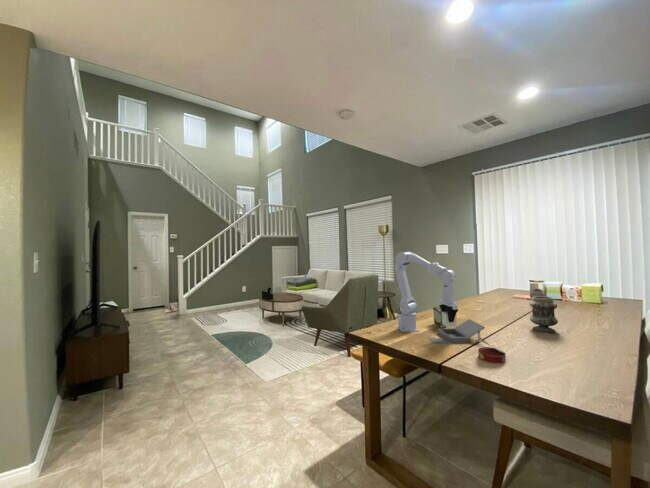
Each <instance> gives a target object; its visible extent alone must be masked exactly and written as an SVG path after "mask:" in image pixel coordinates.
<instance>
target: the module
mask: <svg viewBox="0 0 650 488" xmlns="http://www.w3.org/2000/svg"><path fill="white" fill-rule="evenodd" d="M457 322H458V321H457V314H456V315H455V319H454V322H449V320H448V314H447V312H442V324H443V325H445V326H446V328H449V327H451V328H453V327H454V328H455V327H457V326H458V324H457Z"/></svg>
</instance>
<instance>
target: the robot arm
mask: <svg viewBox="0 0 650 488" xmlns="http://www.w3.org/2000/svg"><path fill="white" fill-rule="evenodd" d="M394 258H395V263H394V269H395V274H396V278H397V283H398V286H399V291H400V296H401V299H400V301H399V303H400V305H399V309H400V312H401V314H400V313H399V314H398V316H397V321H398V323H397V324H398V326H397V329H398V330H400V332H401V333H407V332H408V333H409V332H410V333H412V332H413V333H415V332H419V331H420V330H419V329H418V328H417V311H418V309H419V305H418V304H417V302H416V299H415V297H413V296H412V293H411V289H410V284H409V279H408V277H407V272H406V269H407V267H408V266H409V264H411V263H415V264H418V265H420V266H422V267H424V268H426V269H427V271H428V272H429V273H431V274H432V275H434V276H436V277H438V278H439V279H440V281H441V299H439V306H438V307H440V308H441V311H442V312H447V314H448V320H449V322H454V319H455V315H457V314H458V311H459V308H458V305H457V301H455V279H456V278H457V277H456V276H457V275H456V272H455V271H454V270H453V269H448V267H444V266H442V265H439V264H440V263H439V262H432V263H431V262H430V261H428V260H426V259H425V258H423V257H421V256H419V255H418V254H416V253H414V252H412V251H403V252H402V251H399V252H398V253H397V254H396V256H395V257H394Z"/></svg>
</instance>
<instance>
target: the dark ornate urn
mask: <svg viewBox="0 0 650 488" xmlns="http://www.w3.org/2000/svg"><path fill="white" fill-rule="evenodd" d="M529 305H530V307H532V313H531V314H532V315H530V316H529V321H530V322H532V323H533V324H535V326H533V327H532V328H531V329H532V330H533V331H535V332H539V333H543V334H544V333H545V334H554V333H556V329H554V328H552V326H555V325H557V324H558V322H559V320H558V319H557V317H556V315H555V309H557V308H558V304H557V303H556V302H555V301H554V298H553V297H552V296H544V295H533V297H532V299H531V300H530V301H529Z"/></svg>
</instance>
